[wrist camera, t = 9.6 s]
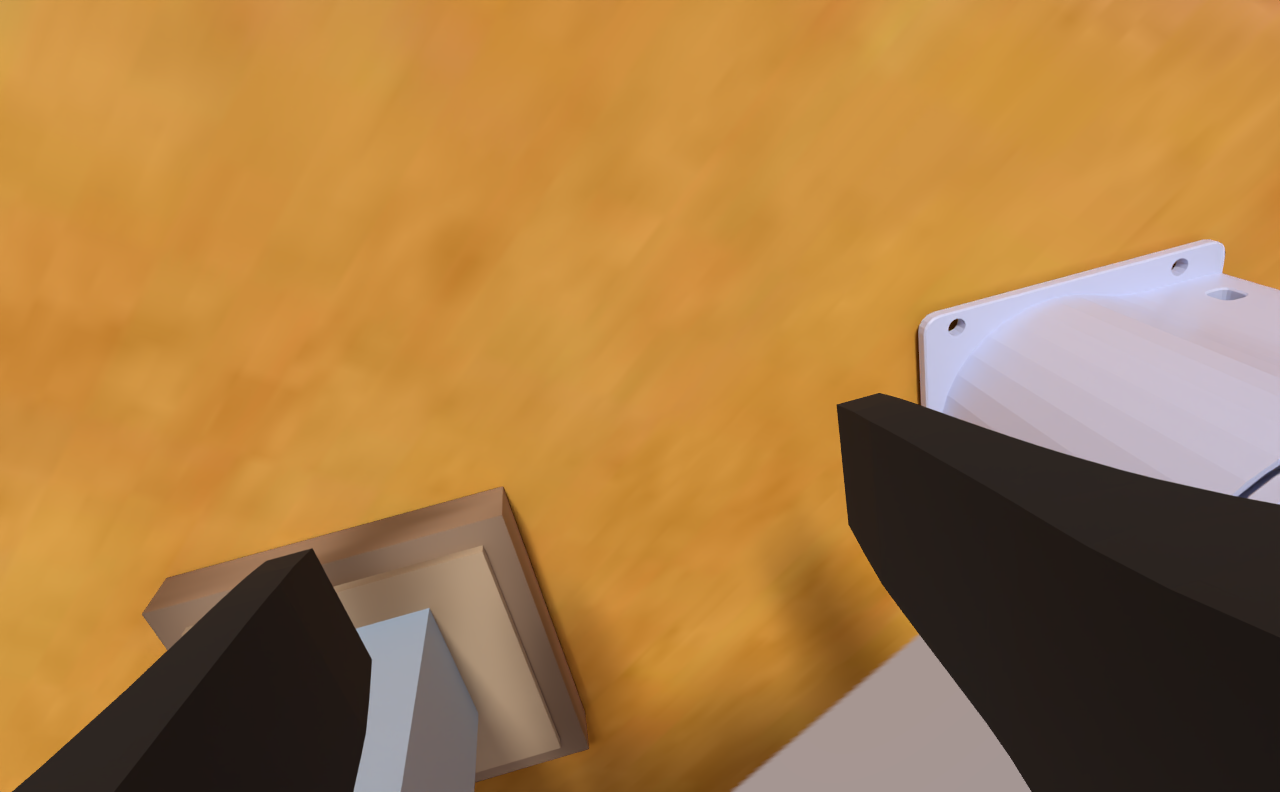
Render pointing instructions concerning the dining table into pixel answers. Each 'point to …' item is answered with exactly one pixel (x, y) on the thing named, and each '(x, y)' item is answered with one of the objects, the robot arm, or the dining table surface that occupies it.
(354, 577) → the walnut plinth
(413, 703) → the blue block
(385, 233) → the dining table surface
